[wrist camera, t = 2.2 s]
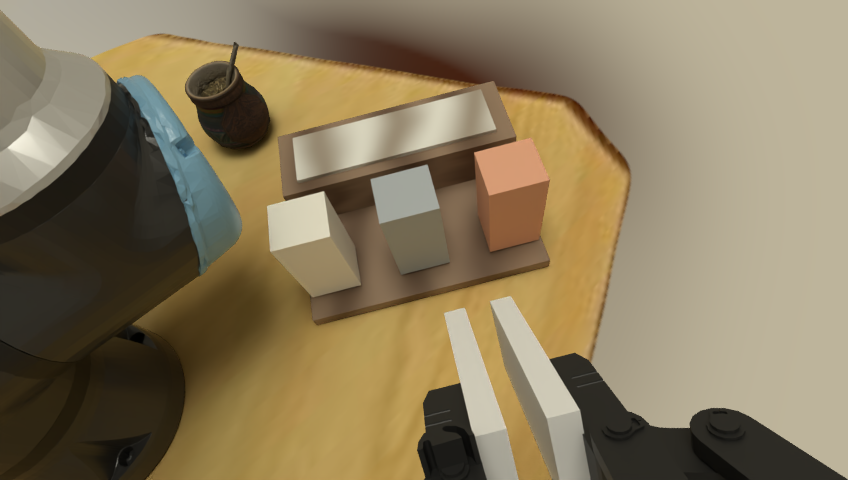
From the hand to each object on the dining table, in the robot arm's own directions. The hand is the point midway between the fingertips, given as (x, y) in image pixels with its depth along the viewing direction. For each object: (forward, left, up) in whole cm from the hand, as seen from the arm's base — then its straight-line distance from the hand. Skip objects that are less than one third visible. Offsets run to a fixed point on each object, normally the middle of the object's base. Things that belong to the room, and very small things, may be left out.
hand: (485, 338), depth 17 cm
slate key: (-2, +15, -21) cm, 26 cm away
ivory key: (-10, +15, -21) cm, 27 cm away
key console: (-2, +20, -22) cm, 30 cm away
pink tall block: (+6, +15, -21) cm, 26 cm away
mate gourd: (-18, +36, -22) cm, 46 cm away
